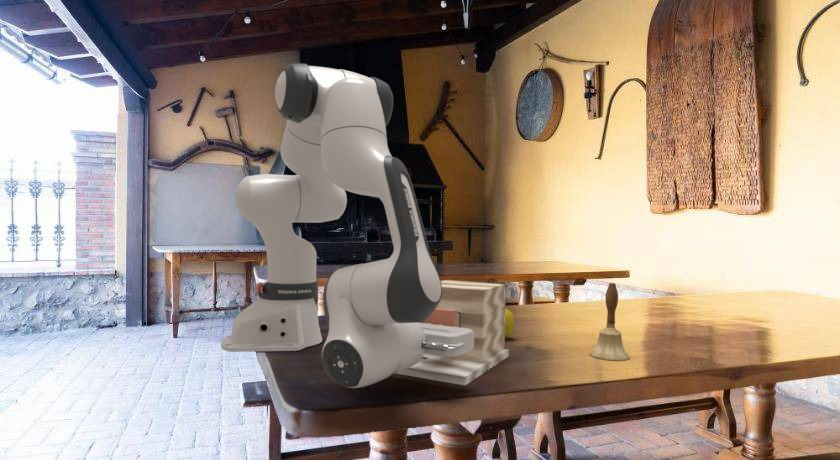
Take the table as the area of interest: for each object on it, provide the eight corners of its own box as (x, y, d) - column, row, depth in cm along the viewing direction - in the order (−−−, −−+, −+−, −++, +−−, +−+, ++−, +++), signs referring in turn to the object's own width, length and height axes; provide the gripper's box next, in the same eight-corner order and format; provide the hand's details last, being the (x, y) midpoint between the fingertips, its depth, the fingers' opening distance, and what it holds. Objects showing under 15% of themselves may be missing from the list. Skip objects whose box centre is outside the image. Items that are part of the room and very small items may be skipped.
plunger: (452, 348, 98) (453, 311, 98) (419, 344, 101) (420, 307, 101) (476, 337, 108) (477, 303, 108) (445, 333, 111) (446, 300, 111)
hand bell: (629, 353, 117) (630, 282, 117) (631, 362, 109) (632, 286, 109) (590, 350, 120) (591, 280, 120) (589, 358, 112) (590, 284, 112)
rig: (465, 385, 92) (466, 297, 92) (387, 372, 99) (388, 290, 99) (508, 356, 113) (510, 284, 112) (441, 347, 120) (442, 279, 120)
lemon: (513, 342, 126) (514, 309, 126) (490, 340, 127) (491, 308, 127) (514, 337, 132) (515, 305, 132) (492, 336, 133) (492, 304, 133)
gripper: (455, 330, 82) (488, 317, 94) (349, 317, 92) (391, 306, 104) (455, 370, 82) (487, 351, 94) (349, 353, 92) (390, 338, 104)
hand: (436, 328), depth 99 cm, fingers closed, pressing on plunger
